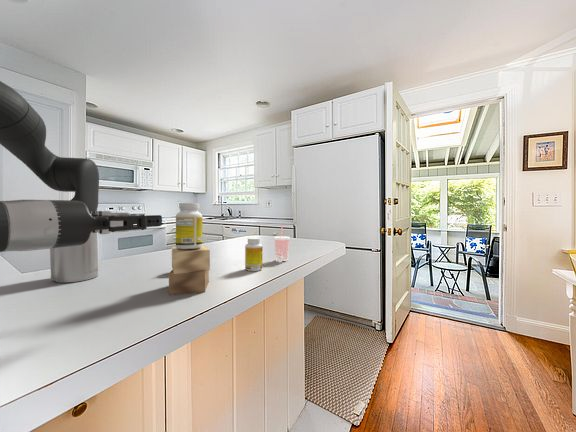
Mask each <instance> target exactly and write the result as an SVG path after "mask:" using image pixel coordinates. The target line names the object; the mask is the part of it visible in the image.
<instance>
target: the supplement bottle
mask: <svg viewBox="0 0 576 432" xmlns="http://www.w3.org/2000/svg"><path fill="white" fill-rule="evenodd" d="M244 266H245V267H244V268H245V270H246V271H247V270H248V271H247V272H259V271H262V269H263V244H262V243H261V238H260V237H248V238H247V243H246V244H245V246H244Z"/></svg>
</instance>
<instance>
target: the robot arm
mask: <svg viewBox="0 0 576 432" xmlns="http://www.w3.org/2000/svg"><path fill="white" fill-rule="evenodd" d="M46 139H47V127H46V124H45V121H44V119H43V118H42V116H41V115H40V114H39V113H38V112H37V111H36V110H35V109H34V108H33V107H32V105H31V104H30V103H29V102H28V100H26V99H25V98H24V97H23V96H22V95H21V94H20V93H19V92H18V91H17V90H15V89H14V88H12V87H11V86H9V85H8V84H6V83H5V82H3V81H1V80H0V145H1V146H2V147H3V148H5V149H6V150H7V151H9V152H10V153H11V154H12V155H13V156H15V157H16V159H18V160H19V161H21V162H22V163H23V164H24V165H25V166H26V167H27V168H28V169H29V170H30V171H31V172H32V173H33V174H34V175H35V176H36V177H37V178H38V179H39V180H41V182H43V183H44V184H45V186H47V187H48V188H50V189H52V190H53V191H58V192H65V193H66V192H67V193H68V192H69V193H70V192H73V193H74V195H73V197H72V198H70V200H69V199H68V200H66V199H65V200H60V199H59V200H58V199H52V200H51V199H13V200H0V253H2V252H4V253H5V252H30V251H31V252H33V251H38V250H47V249H49V256H50V257H49V259H50V262H49V263H50V281H51V282H53V281H54V282H56V283H62V284H63V283H74V282H77V283H78V282H82V281H87V280H91V279H94V278H96V277H98V276H99V253H98V234H100V235H102V234H110V233H121V232H126V233H127V232H128V231H137V230H141V231H144V230H147V228H152V227H154V228H155V227H161V226H162V225H163V217H162V215H161V214H153V215H152V214H151V215H147V214H146V215H145V214H142V213H141V214H140V213H139V214H138V215H137V214H136V213H134V214H133V213H132V214H131V213H129V212H112V211H109V210H107V211H106V210H98V207H99V189H100V175H99V173H100V172H99V169H98V167H97V164H96V163H95V162H94V161H93V159H90V158H83V157H64V156H63V157H62V156H58V155H56V154H55V153H54V152H52V151H51V150H50V149H49V148H48V147H47V146H46Z"/></svg>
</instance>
